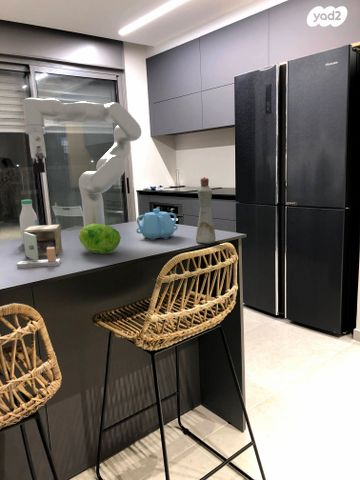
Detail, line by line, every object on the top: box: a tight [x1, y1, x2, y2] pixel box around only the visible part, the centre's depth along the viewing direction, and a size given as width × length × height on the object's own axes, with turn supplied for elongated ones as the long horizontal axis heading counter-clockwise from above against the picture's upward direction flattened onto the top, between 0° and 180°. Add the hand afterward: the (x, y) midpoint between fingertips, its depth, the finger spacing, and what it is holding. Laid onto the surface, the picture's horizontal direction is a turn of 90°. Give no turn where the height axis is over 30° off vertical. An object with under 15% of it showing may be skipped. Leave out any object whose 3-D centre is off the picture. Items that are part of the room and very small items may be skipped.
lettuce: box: [78, 224, 122, 255], centre depth 154 cm, size 13×23×12 cm, turn 44°
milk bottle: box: [19, 199, 39, 245], centre depth 177 cm, size 8×8×20 cm
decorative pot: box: [136, 208, 179, 241], centre depth 182 cm, size 16×16×14 cm
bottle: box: [195, 176, 217, 245], centre depth 166 cm, size 9×9×28 cm
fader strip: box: [16, 258, 61, 269], centre depth 139 cm, size 14×4×2 cm, turn 99°
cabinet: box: [24, 224, 63, 257], centre depth 158 cm, size 12×10×10 cm
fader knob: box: [46, 247, 57, 261], centre depth 139 cm, size 2×3×5 cm
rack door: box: [23, 231, 40, 261], centre depth 147 cm, size 12×2×10 cm, turn 39°
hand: (39, 172), depth 163 cm, fingers open, 9 cm apart
